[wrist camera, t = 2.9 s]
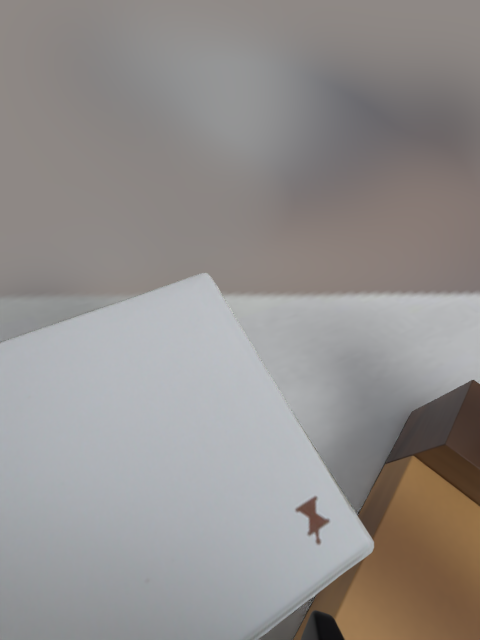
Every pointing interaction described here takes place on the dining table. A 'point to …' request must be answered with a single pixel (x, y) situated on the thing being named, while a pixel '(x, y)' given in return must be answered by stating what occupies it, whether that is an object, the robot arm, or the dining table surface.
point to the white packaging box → (158, 480)
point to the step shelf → (419, 534)
